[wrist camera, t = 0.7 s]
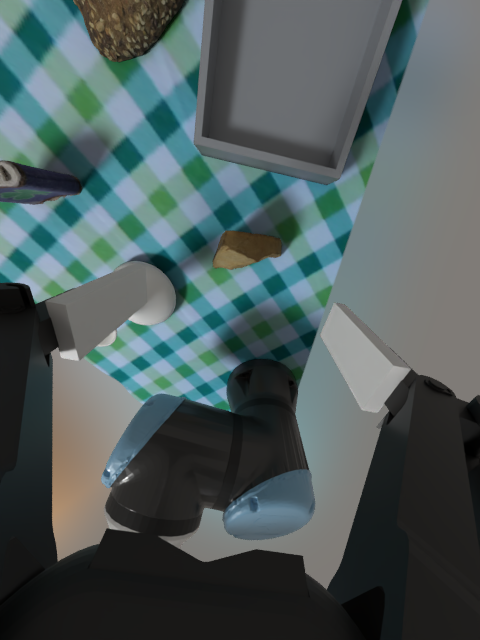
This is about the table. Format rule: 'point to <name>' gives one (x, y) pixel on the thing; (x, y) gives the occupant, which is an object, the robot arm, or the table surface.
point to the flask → (34, 184)
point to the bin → (288, 81)
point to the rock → (244, 249)
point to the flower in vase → (151, 300)
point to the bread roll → (126, 24)
